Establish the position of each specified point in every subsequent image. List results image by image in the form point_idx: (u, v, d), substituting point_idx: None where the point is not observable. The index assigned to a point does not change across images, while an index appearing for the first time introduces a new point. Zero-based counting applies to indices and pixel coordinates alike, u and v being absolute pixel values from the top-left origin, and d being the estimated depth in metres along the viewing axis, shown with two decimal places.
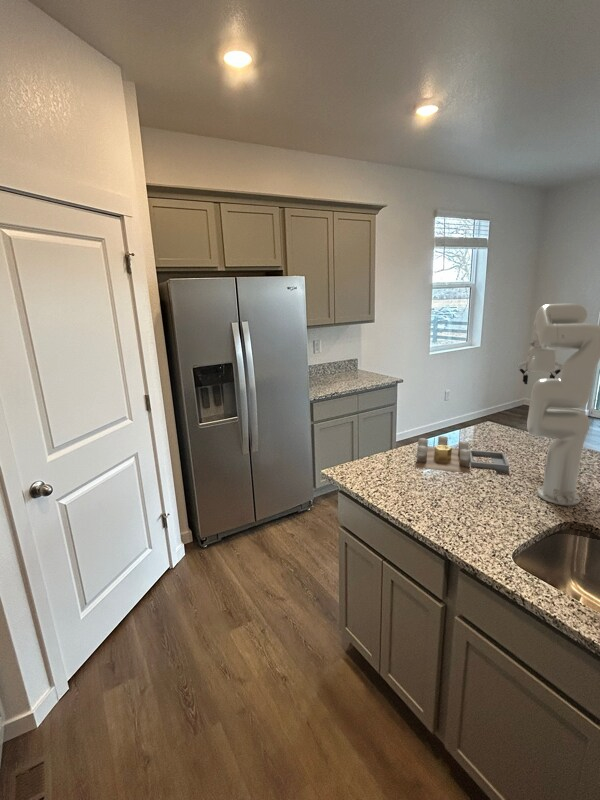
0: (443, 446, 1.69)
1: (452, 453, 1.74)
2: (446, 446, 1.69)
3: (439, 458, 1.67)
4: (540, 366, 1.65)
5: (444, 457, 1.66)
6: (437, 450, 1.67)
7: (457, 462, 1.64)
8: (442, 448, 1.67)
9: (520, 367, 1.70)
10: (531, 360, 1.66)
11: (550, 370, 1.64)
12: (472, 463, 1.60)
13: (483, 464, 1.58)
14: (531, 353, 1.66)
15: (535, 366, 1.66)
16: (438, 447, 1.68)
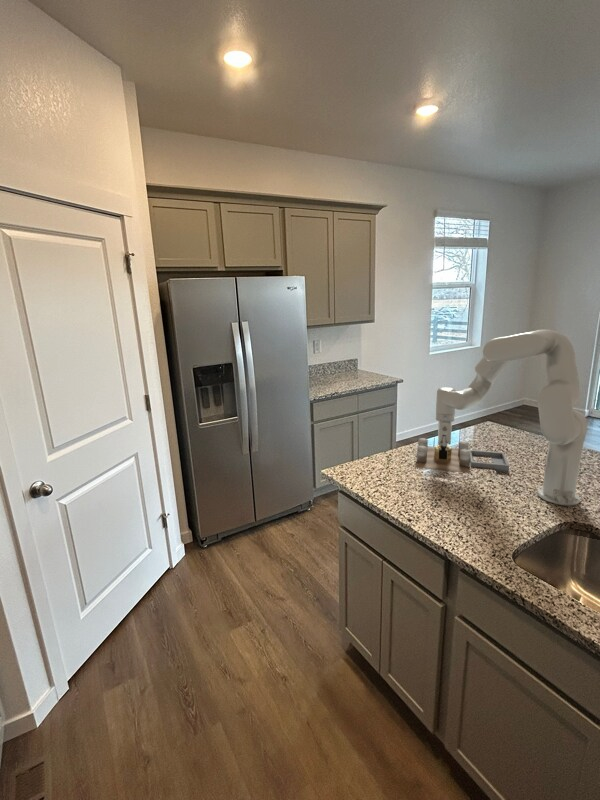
0: None
1: (452, 453, 1.74)
2: None
3: None
4: None
5: None
6: (437, 450, 1.67)
7: (457, 462, 1.64)
8: None
9: (445, 446, 1.61)
10: None
11: None
12: (472, 463, 1.60)
13: (483, 464, 1.58)
14: (450, 427, 1.61)
15: None
16: (438, 447, 1.68)
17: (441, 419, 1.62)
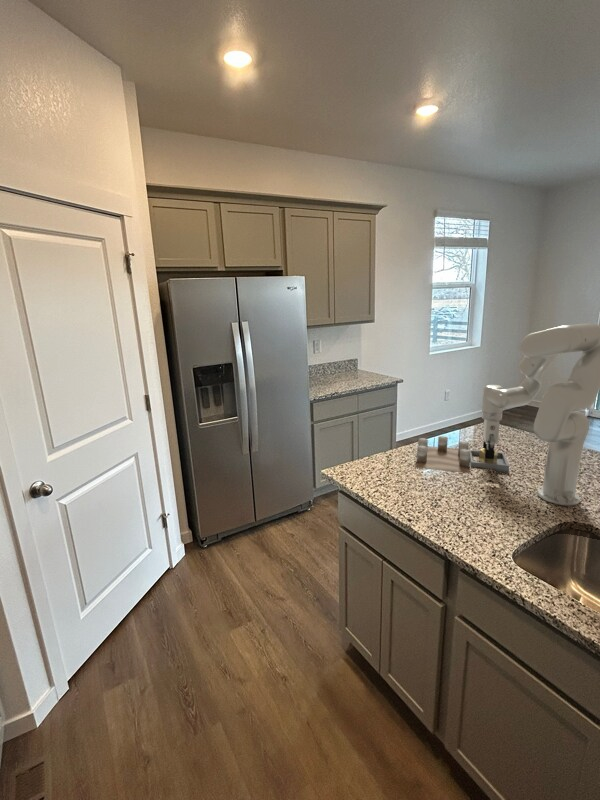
0: None
1: (452, 453, 1.74)
2: None
3: (485, 462, 1.62)
4: None
5: (490, 461, 1.61)
6: (483, 454, 1.62)
7: (457, 462, 1.64)
8: None
9: None
10: (498, 433, 1.56)
11: None
12: (472, 463, 1.60)
13: (483, 464, 1.58)
14: (498, 426, 1.56)
15: None
16: (483, 450, 1.63)
17: (488, 418, 1.57)
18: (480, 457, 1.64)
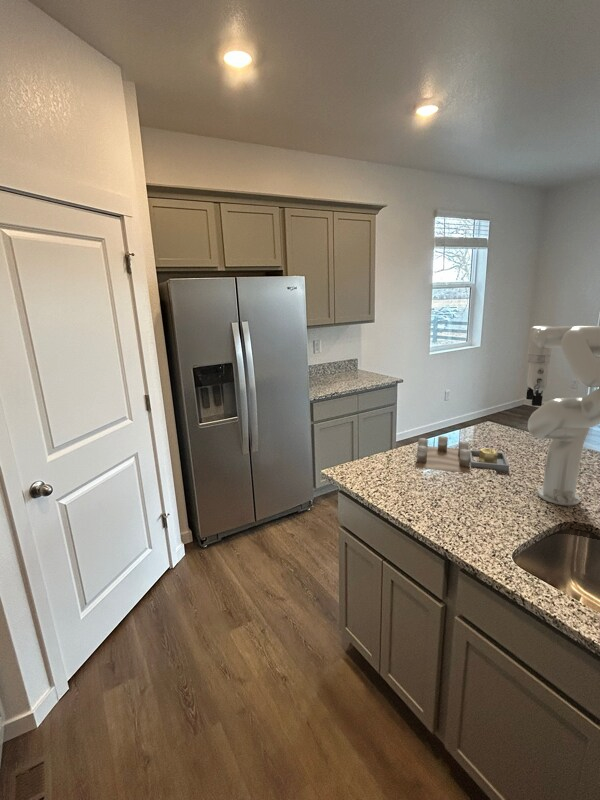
0: (488, 449, 1.64)
1: (452, 453, 1.74)
2: (491, 449, 1.64)
3: (485, 462, 1.62)
4: None
5: (490, 461, 1.61)
6: (483, 454, 1.62)
7: (457, 462, 1.64)
8: (488, 451, 1.62)
9: None
10: None
11: None
12: (472, 463, 1.60)
13: (483, 464, 1.58)
14: (547, 369, 1.43)
15: None
16: (483, 450, 1.63)
17: (536, 361, 1.44)
18: (480, 457, 1.64)
